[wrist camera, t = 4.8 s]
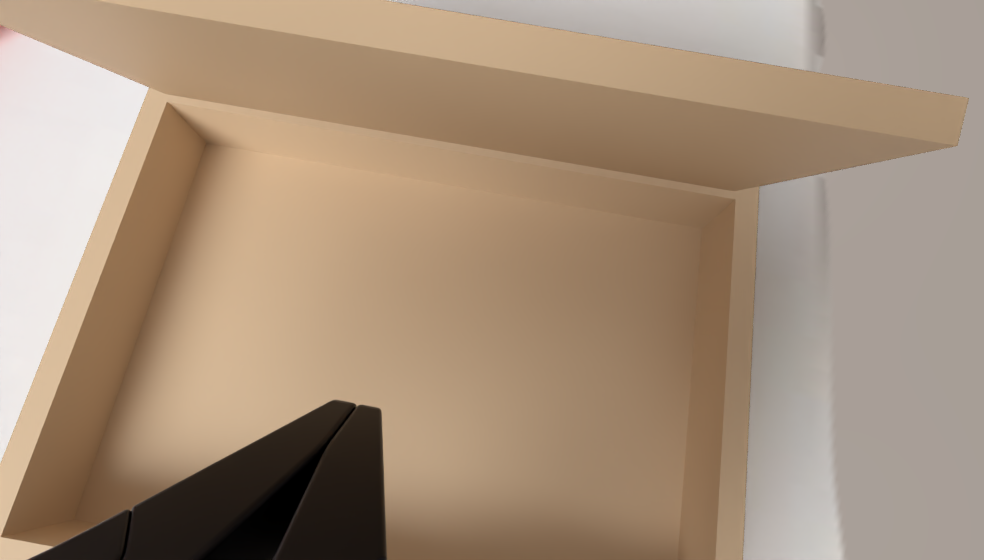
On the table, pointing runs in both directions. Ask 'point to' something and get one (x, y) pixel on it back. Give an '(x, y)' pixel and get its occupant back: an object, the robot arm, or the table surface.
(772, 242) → the table surface
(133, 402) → the carton
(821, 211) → the table surface
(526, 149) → the carton flap
